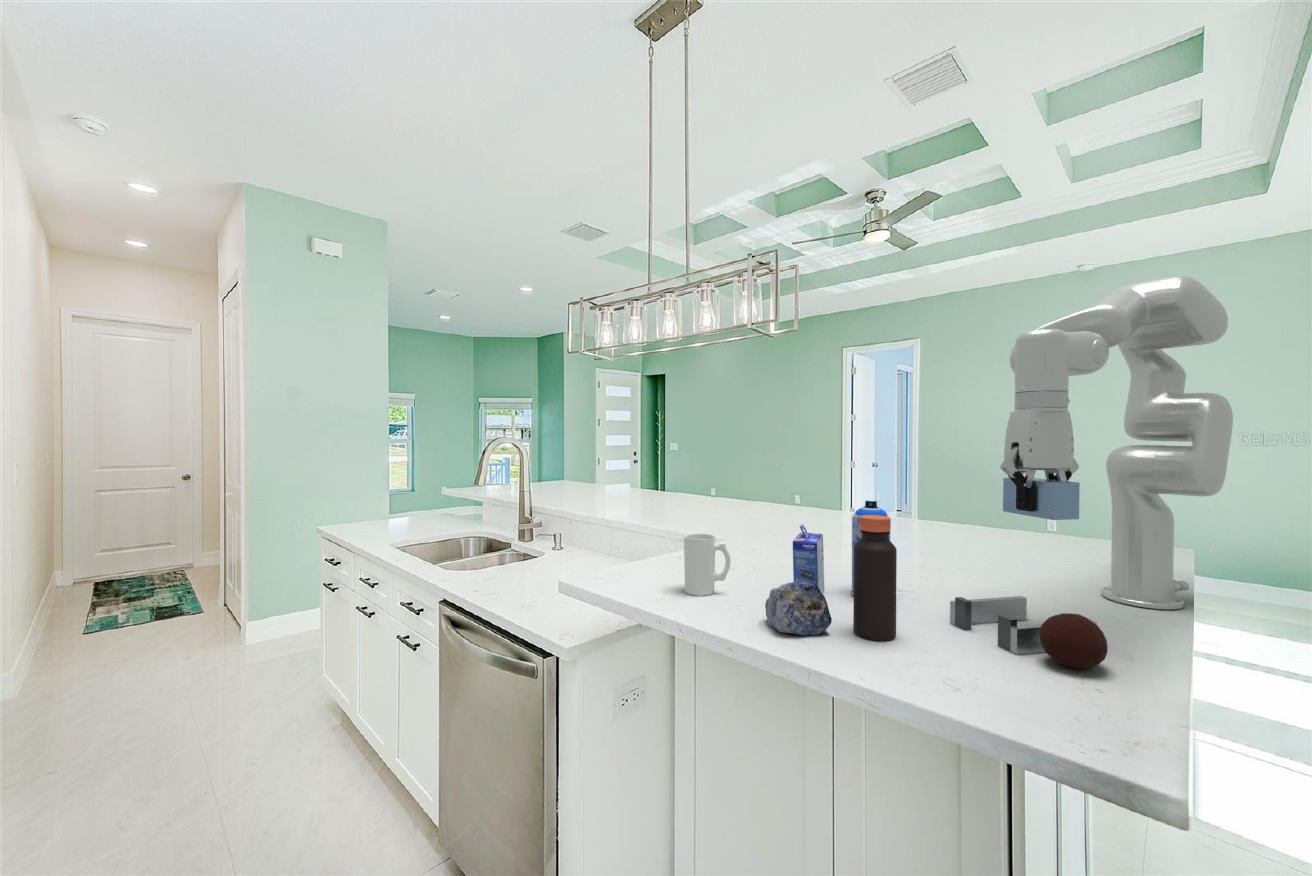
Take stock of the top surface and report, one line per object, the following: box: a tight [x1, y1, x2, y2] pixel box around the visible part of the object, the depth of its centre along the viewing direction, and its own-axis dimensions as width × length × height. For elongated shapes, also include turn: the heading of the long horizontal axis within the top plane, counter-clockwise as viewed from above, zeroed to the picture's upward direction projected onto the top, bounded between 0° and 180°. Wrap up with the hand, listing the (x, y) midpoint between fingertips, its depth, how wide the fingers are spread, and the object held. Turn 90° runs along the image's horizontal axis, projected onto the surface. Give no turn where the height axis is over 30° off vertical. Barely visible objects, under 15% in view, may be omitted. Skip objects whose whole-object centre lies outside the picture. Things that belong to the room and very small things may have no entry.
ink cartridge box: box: [792, 523, 825, 594], centre depth 118 cm, size 10×6×14 cm, turn 157°
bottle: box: [852, 515, 898, 642], centre depth 94 cm, size 7×7×20 cm
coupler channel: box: [949, 595, 1098, 656], centre depth 94 cm, size 15×14×5 cm
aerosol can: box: [850, 500, 891, 598], centre depth 116 cm, size 8×8×20 cm
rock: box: [764, 581, 833, 637], centre depth 98 cm, size 11×10×10 cm
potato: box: [1039, 612, 1108, 670], centre depth 81 cm, size 8×9×8 cm
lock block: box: [1002, 477, 1081, 521], centre depth 95 cm, size 5×10×6 cm, turn 11°
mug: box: [683, 533, 732, 597], centre depth 119 cm, size 10×7×12 cm, turn 72°
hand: (1039, 509), depth 95 cm, fingers closed on lock block, 5 cm apart
